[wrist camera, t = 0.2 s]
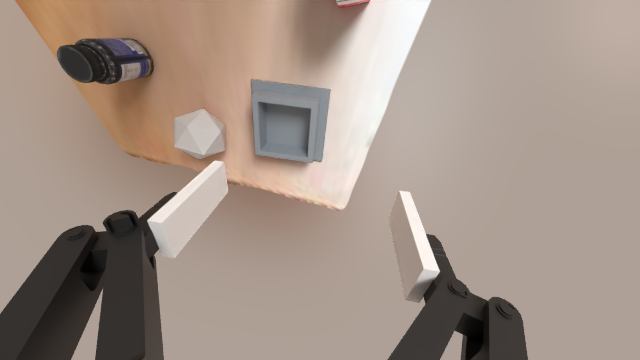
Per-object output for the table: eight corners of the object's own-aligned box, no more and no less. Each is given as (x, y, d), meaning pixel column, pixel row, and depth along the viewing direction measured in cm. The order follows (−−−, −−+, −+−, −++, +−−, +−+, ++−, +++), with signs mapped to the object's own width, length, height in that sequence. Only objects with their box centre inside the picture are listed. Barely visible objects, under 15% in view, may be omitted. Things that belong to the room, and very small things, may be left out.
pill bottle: (113, 41, 39) (40, 42, 30) (142, 35, 38) (75, 34, 29) (133, 79, 43) (73, 91, 33) (161, 74, 41) (106, 84, 32)
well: (252, 79, 40) (241, 83, 36) (330, 89, 39) (328, 94, 36) (256, 150, 47) (248, 160, 44) (322, 160, 47) (319, 170, 43)
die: (207, 94, 43) (151, 113, 38) (236, 121, 41) (180, 145, 35) (215, 127, 50) (169, 147, 45) (240, 152, 47) (194, 176, 42)
